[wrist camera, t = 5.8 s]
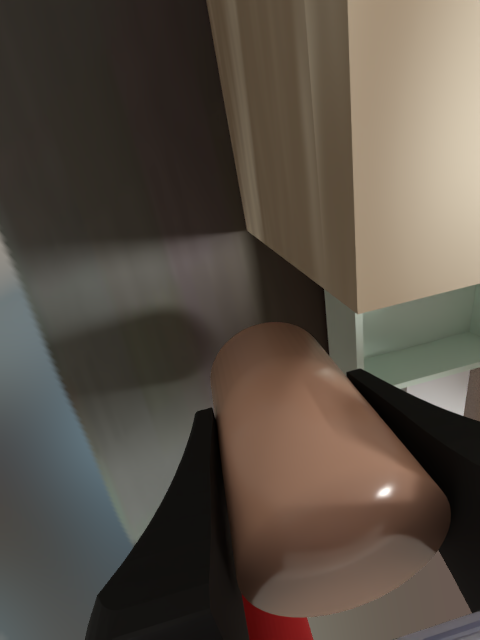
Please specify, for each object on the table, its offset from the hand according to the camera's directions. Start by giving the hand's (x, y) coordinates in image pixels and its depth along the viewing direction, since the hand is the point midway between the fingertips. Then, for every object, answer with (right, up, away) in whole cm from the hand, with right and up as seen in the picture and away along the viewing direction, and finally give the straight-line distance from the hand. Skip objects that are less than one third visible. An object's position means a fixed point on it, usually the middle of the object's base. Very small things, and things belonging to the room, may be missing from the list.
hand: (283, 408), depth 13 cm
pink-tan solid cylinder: (0, +1, +2) cm, 2 cm away
